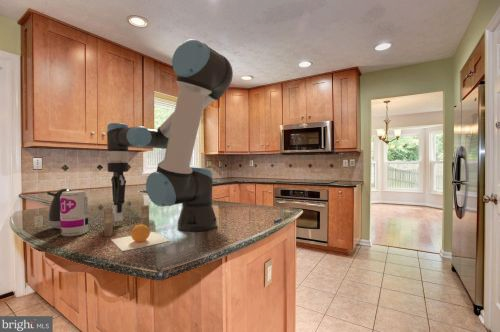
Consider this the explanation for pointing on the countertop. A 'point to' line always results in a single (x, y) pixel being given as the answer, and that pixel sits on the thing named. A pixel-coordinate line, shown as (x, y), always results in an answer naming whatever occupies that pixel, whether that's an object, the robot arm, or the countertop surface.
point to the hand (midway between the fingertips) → (118, 220)
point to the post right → (145, 215)
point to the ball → (140, 233)
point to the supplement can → (73, 213)
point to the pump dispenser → (55, 208)
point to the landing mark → (130, 244)
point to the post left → (108, 222)
